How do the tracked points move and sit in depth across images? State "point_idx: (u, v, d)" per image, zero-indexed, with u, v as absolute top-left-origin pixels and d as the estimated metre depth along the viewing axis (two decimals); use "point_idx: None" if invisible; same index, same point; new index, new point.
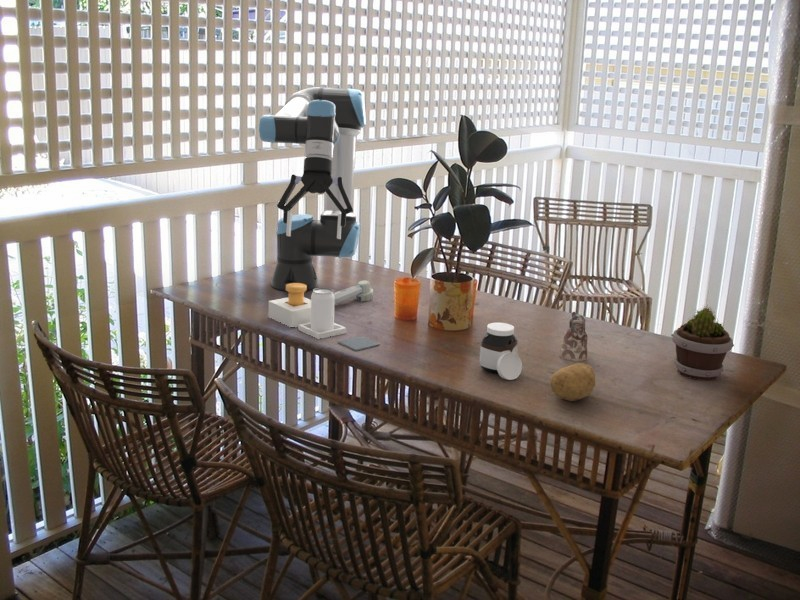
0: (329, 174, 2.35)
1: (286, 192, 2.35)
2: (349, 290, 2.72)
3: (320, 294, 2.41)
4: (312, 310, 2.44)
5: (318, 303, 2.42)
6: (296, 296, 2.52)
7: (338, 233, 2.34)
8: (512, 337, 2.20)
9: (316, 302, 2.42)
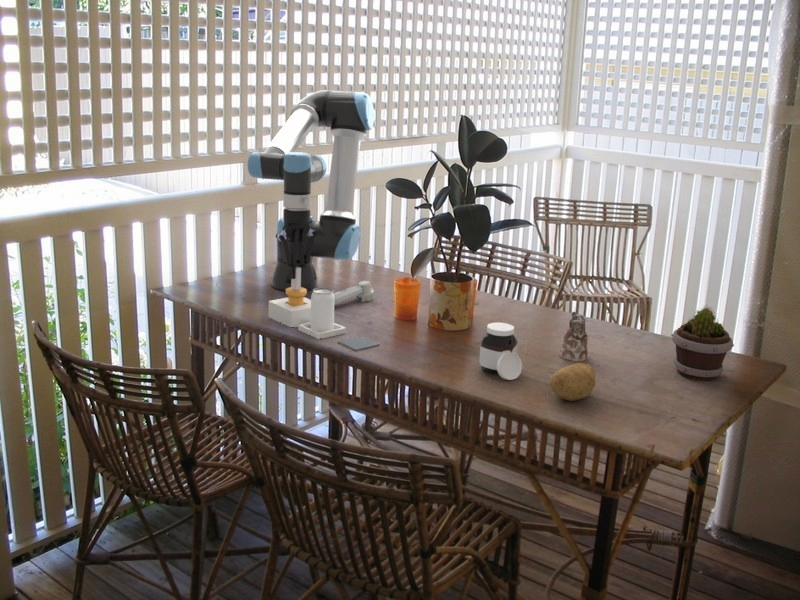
0: (308, 222, 2.50)
1: (286, 252, 2.47)
2: (349, 290, 2.72)
3: (320, 294, 2.41)
4: (312, 310, 2.44)
5: (319, 302, 2.42)
6: (296, 300, 2.53)
7: (299, 285, 2.53)
8: (512, 337, 2.20)
9: (316, 302, 2.42)
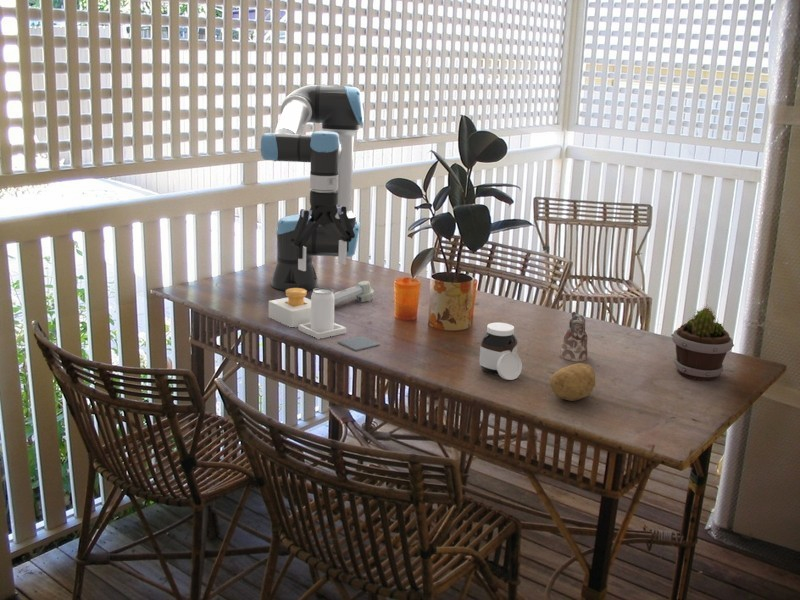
0: (335, 205, 2.39)
1: (301, 229, 2.33)
2: (349, 290, 2.72)
3: (320, 294, 2.41)
4: (312, 310, 2.44)
5: (318, 302, 2.42)
6: (296, 301, 2.53)
7: (345, 260, 2.45)
8: (512, 337, 2.20)
9: (316, 302, 2.42)
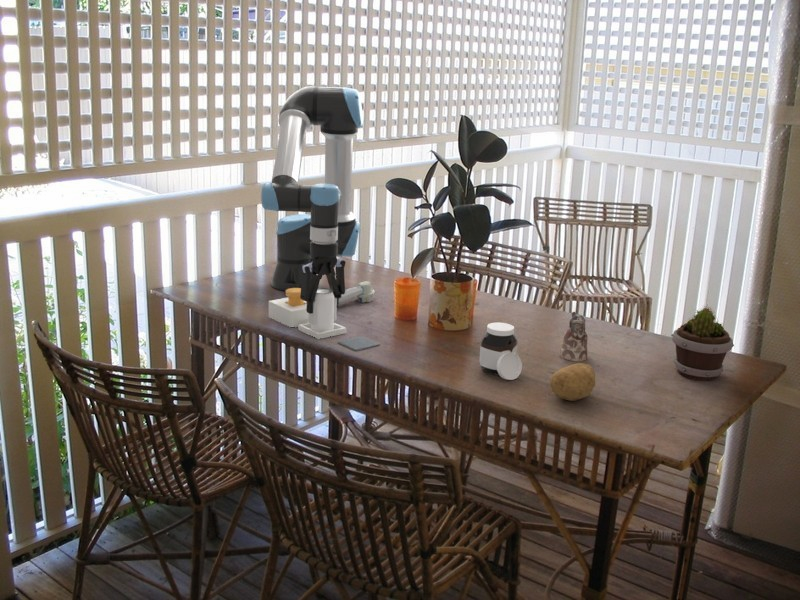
0: (335, 255, 2.43)
1: (307, 285, 2.38)
2: (349, 291, 2.71)
3: (320, 294, 2.41)
4: None
5: (318, 302, 2.42)
6: (296, 301, 2.53)
7: (335, 316, 2.47)
8: (512, 337, 2.20)
9: None
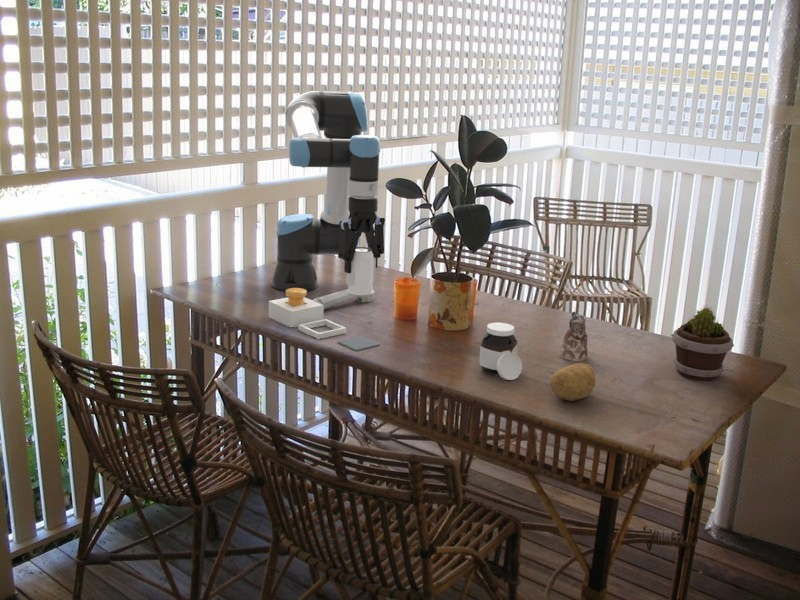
0: (375, 212, 2.30)
1: (346, 242, 2.26)
2: None
3: (359, 252, 2.28)
4: None
5: (357, 261, 2.29)
6: (296, 301, 2.53)
7: (374, 277, 2.34)
8: (512, 337, 2.20)
9: None
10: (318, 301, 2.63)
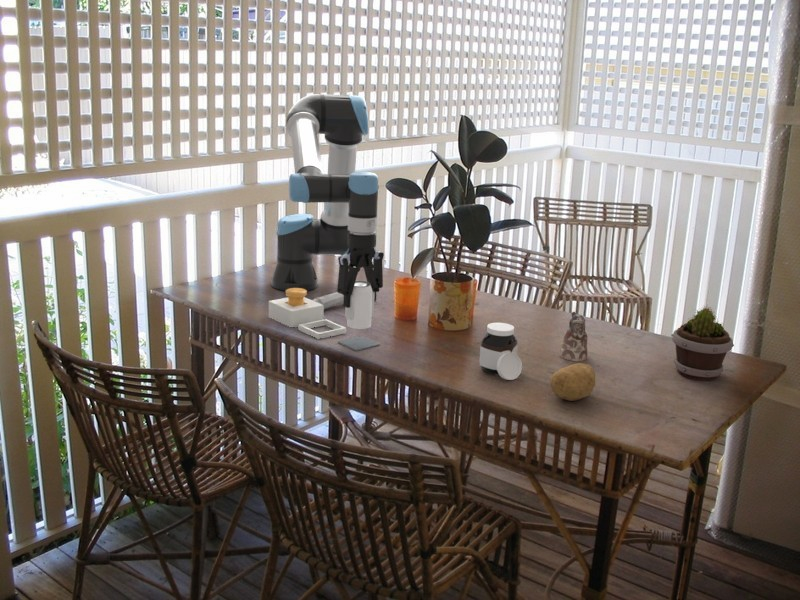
0: (373, 247, 2.32)
1: (345, 277, 2.28)
2: None
3: (358, 287, 2.31)
4: None
5: (356, 296, 2.31)
6: (296, 301, 2.53)
7: (372, 311, 2.37)
8: (512, 337, 2.20)
9: (353, 295, 2.32)
10: (318, 301, 2.63)
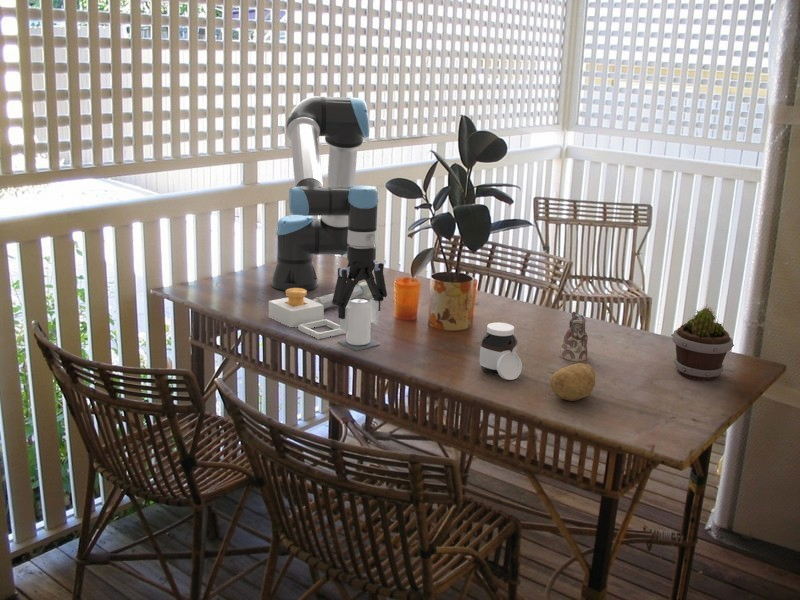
0: None
1: (342, 289, 2.29)
2: None
3: (356, 303, 2.33)
4: None
5: (355, 312, 2.33)
6: (296, 301, 2.53)
7: (377, 320, 2.39)
8: (512, 337, 2.20)
9: (352, 312, 2.33)
10: (317, 301, 2.63)
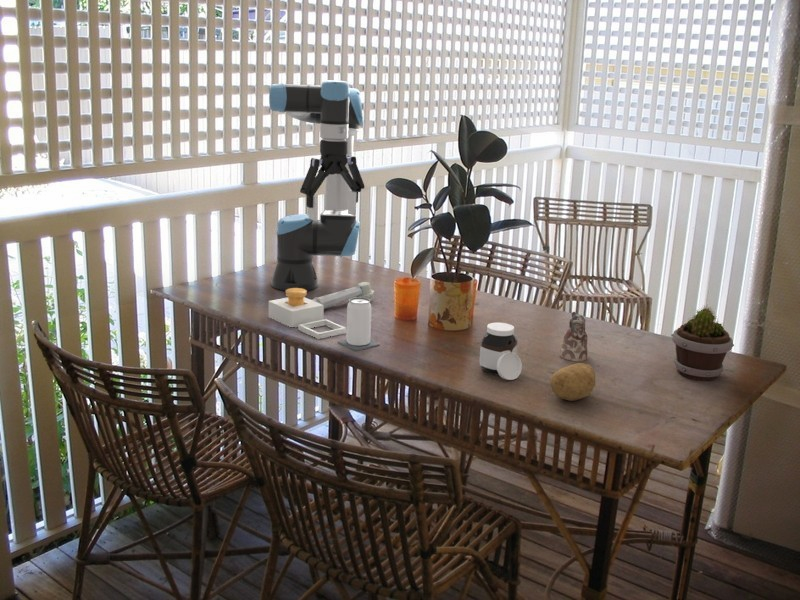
0: (345, 155, 2.40)
1: (312, 178, 2.34)
2: (348, 291, 2.71)
3: (357, 304, 2.33)
4: (348, 320, 2.35)
5: (355, 313, 2.33)
6: (296, 301, 2.53)
7: (355, 211, 2.47)
8: (512, 337, 2.20)
9: (353, 312, 2.33)
10: (317, 301, 2.63)
